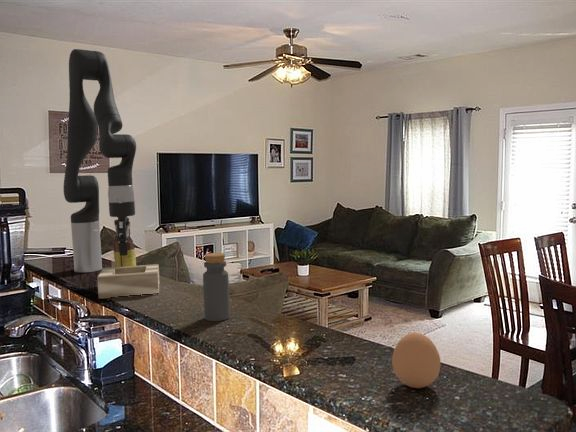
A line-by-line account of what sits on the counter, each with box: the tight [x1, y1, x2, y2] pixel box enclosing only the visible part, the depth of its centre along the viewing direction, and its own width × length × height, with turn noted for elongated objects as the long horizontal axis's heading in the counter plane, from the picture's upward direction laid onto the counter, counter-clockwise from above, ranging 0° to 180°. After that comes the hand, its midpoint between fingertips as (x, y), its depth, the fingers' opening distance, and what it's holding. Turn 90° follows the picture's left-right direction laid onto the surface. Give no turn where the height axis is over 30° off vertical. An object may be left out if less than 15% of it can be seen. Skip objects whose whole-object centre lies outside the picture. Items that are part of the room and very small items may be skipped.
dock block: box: [96, 263, 161, 300], centre depth 156 cm, size 14×16×6 cm
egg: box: [391, 332, 441, 389], centre depth 84 cm, size 7×7×8 cm
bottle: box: [202, 252, 231, 322], centre depth 125 cm, size 6×6×15 cm
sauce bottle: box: [112, 219, 137, 267], centre depth 165 cm, size 7×6×20 cm
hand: (125, 253), depth 165 cm, fingers open, 8 cm apart
